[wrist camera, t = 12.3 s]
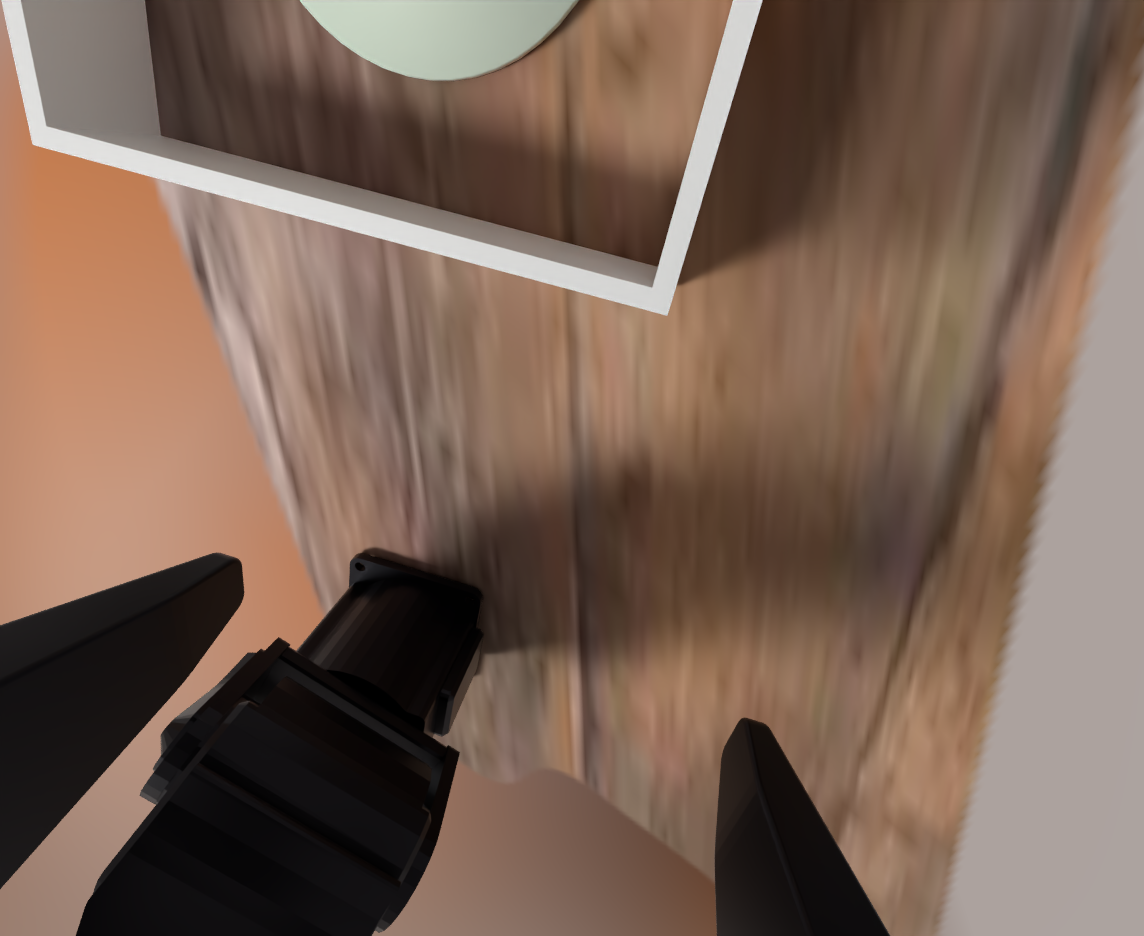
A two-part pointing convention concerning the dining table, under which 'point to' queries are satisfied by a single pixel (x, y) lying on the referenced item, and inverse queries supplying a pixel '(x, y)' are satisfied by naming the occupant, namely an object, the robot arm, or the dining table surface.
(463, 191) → the dining table surface
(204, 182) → the walled pen
